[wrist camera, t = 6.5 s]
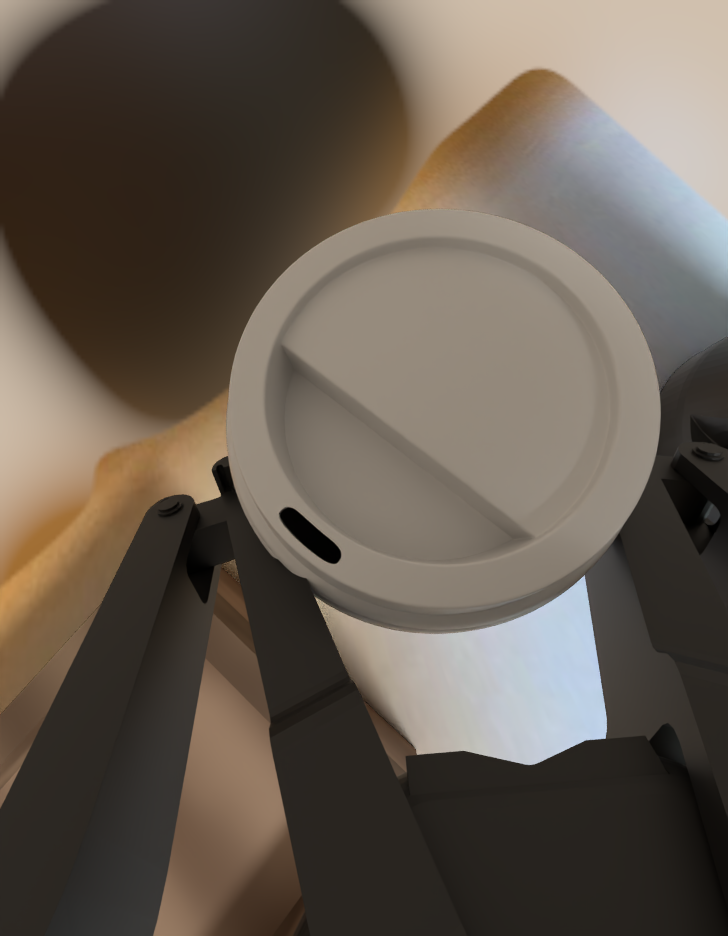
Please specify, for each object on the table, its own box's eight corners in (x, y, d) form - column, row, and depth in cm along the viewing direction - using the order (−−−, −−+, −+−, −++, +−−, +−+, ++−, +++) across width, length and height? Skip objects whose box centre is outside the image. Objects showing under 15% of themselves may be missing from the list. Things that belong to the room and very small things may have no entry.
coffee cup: (295, 463, 22) (116, 302, 7) (429, 392, 22) (514, 108, 8) (367, 608, 20) (321, 787, 5) (513, 527, 20) (841, 485, 6)
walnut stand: (202, 549, 21) (149, 551, 16) (415, 749, 18) (429, 823, 14) (-8, 786, 19) (-143, 871, 14) (201, 1050, 16) (126, 1268, 11)
